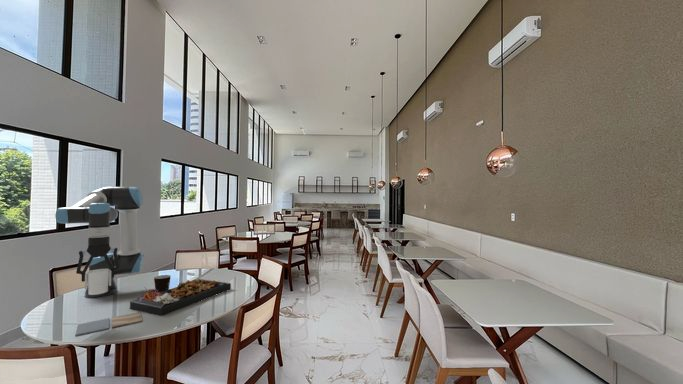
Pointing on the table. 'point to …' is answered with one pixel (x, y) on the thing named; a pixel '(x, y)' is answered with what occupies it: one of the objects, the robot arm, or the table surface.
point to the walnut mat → (126, 319)
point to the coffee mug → (162, 282)
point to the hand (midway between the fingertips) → (98, 286)
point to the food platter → (178, 296)
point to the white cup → (98, 281)
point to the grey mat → (92, 327)
